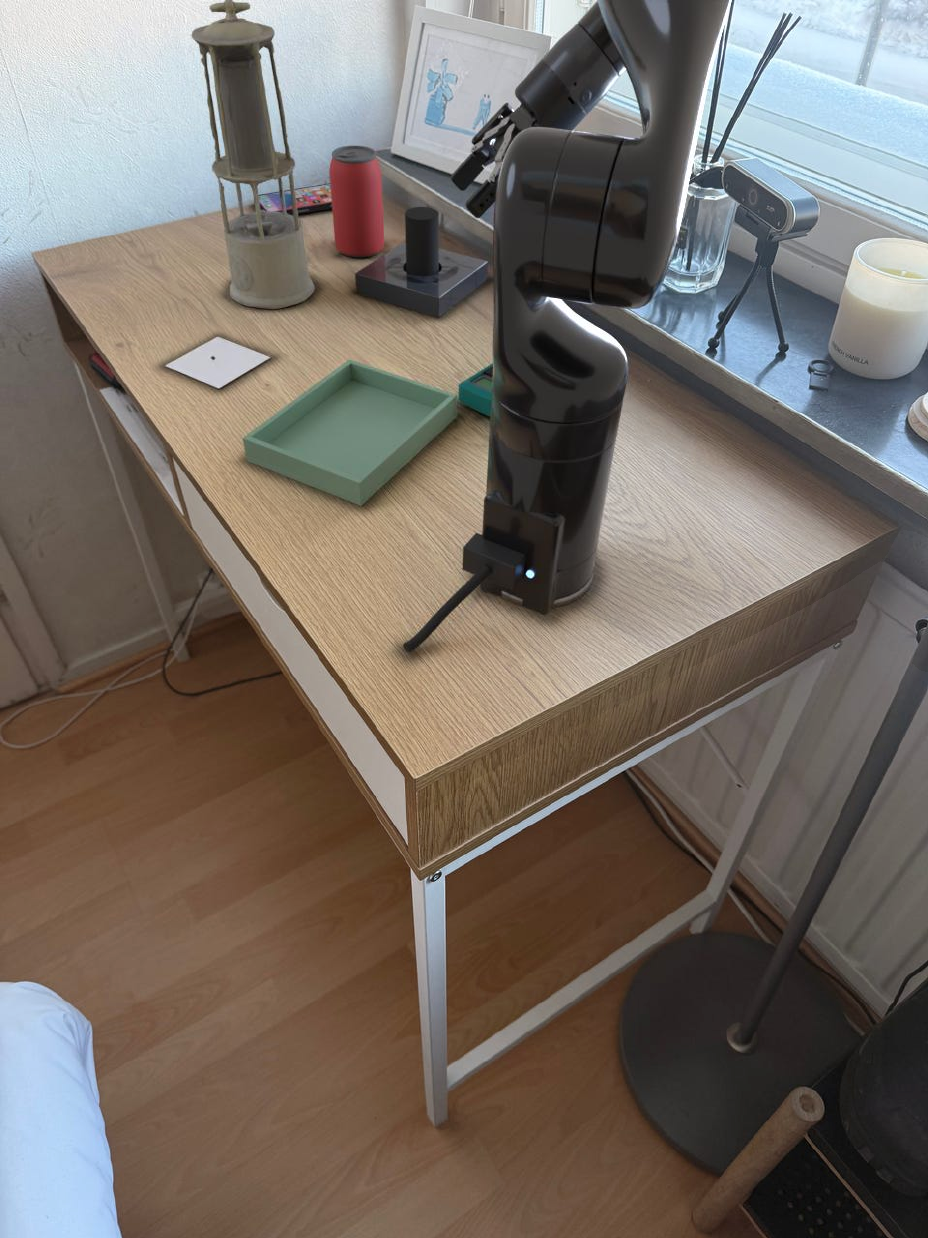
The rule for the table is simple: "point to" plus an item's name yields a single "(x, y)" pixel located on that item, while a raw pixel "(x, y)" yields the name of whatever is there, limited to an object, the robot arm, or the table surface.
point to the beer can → (357, 201)
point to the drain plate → (421, 281)
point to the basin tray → (351, 430)
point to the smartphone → (299, 200)
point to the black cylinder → (422, 241)
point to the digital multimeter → (478, 391)
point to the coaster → (217, 362)
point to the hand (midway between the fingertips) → (463, 198)
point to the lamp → (252, 164)
